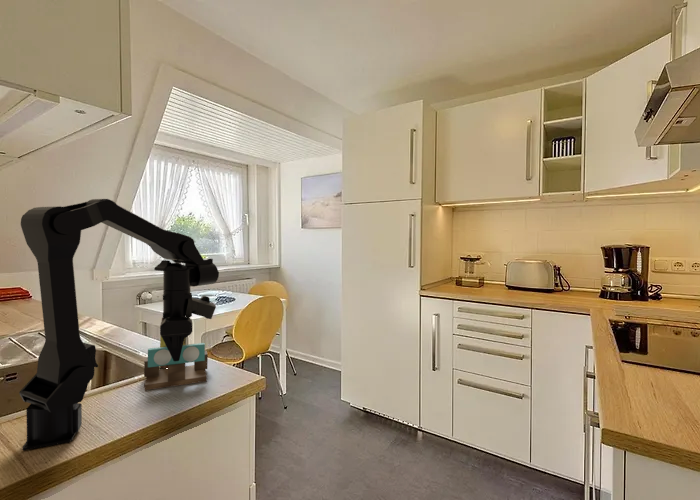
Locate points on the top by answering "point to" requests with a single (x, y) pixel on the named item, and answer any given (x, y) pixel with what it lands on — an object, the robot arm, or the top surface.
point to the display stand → (175, 374)
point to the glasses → (188, 354)
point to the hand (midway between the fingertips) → (176, 354)
